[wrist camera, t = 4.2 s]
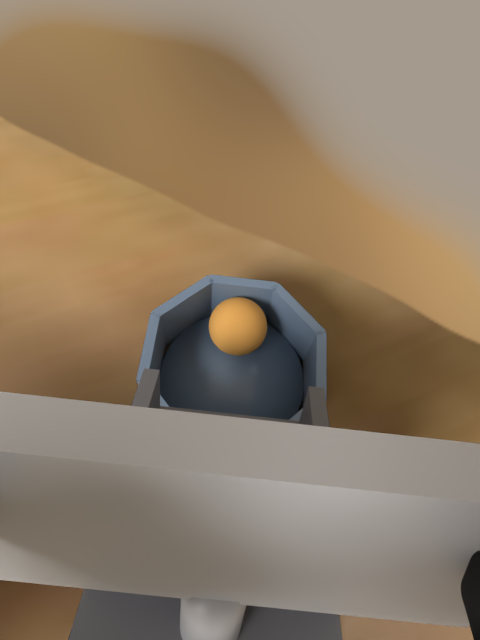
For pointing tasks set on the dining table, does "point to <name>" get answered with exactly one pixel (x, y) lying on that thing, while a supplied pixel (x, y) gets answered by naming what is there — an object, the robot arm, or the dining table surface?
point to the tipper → (231, 518)
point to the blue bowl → (230, 370)
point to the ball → (237, 326)
